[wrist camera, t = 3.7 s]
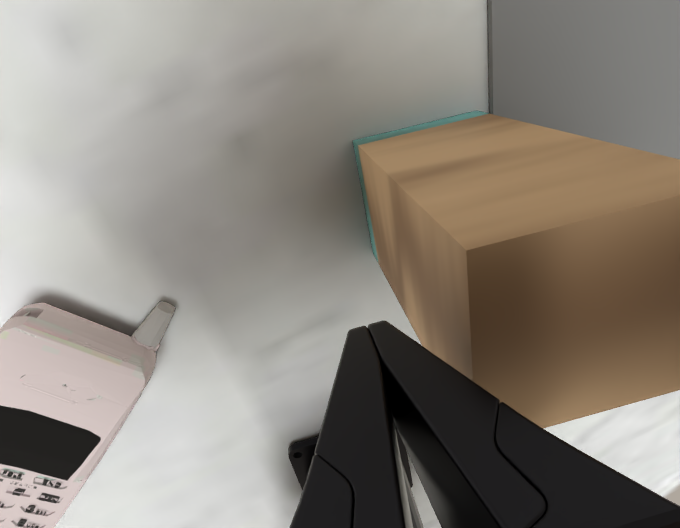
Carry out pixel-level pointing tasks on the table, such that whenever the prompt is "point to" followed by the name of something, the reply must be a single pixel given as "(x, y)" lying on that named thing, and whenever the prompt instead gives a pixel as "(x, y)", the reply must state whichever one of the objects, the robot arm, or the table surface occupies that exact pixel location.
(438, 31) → the table surface
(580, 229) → the oak block
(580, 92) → the charcoal mat
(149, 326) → the mobile phone
